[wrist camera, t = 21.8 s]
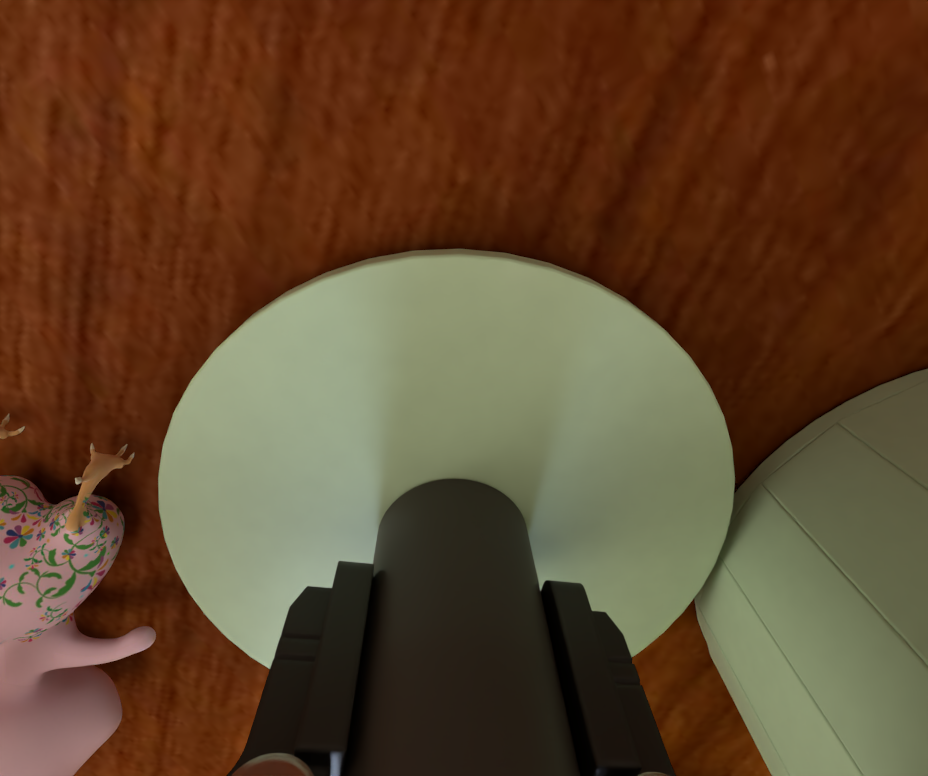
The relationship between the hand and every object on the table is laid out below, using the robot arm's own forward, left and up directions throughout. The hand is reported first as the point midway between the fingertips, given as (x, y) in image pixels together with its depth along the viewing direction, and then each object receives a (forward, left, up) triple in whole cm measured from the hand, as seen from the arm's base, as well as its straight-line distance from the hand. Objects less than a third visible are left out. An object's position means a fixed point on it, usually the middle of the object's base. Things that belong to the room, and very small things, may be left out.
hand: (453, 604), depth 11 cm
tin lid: (0, 0, -2) cm, 2 cm away
